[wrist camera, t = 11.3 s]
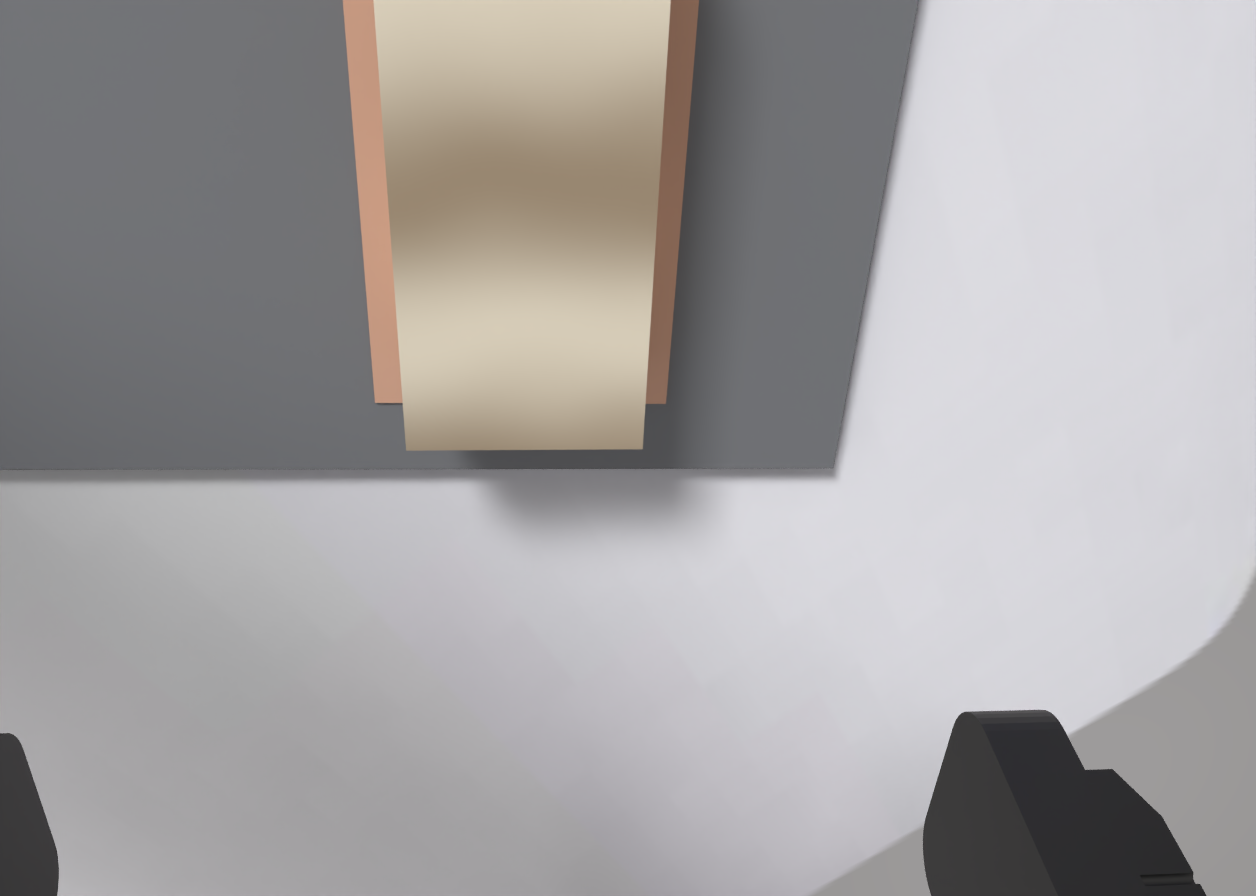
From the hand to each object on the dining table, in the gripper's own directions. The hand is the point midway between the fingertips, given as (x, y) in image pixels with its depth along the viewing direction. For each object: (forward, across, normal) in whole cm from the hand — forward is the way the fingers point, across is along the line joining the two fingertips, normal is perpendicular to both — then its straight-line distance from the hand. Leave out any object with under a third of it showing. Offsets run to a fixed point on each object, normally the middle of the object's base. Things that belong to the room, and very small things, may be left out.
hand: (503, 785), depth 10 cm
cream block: (+17, 0, 0) cm, 17 cm away
